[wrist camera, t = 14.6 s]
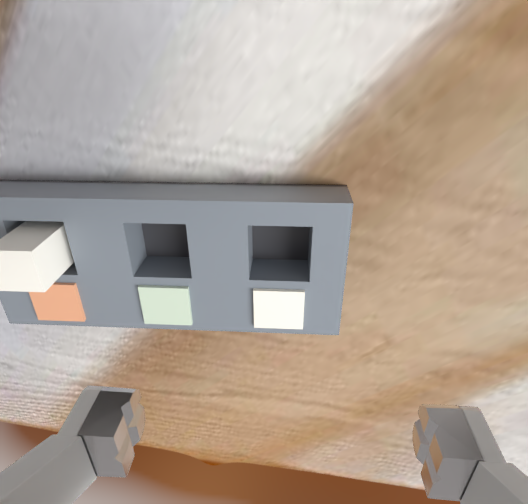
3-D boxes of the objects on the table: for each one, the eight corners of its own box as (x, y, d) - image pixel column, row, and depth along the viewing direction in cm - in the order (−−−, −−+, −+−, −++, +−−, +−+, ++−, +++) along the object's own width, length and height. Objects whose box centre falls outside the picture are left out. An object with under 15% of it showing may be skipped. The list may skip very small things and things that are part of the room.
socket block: (-7, 179, 38) (-45, 198, 34) (346, 185, 36) (354, 205, 32) (34, 298, 45) (7, 325, 41) (334, 307, 43) (339, 337, 39)
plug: (39, 211, 39) (-16, 250, 32) (78, 212, 39) (31, 251, 32) (49, 247, 41) (0, 290, 34) (87, 248, 41) (45, 292, 34)
